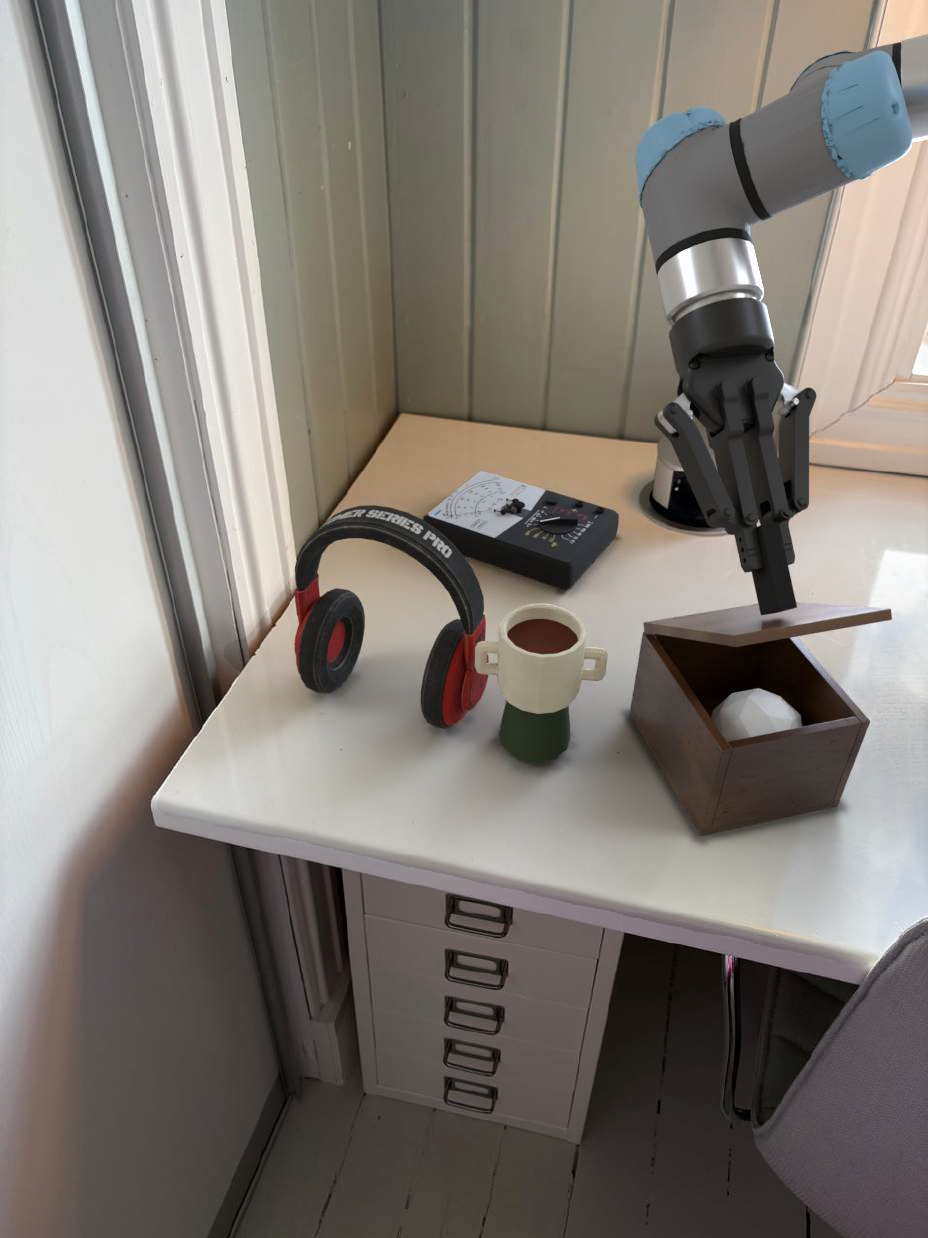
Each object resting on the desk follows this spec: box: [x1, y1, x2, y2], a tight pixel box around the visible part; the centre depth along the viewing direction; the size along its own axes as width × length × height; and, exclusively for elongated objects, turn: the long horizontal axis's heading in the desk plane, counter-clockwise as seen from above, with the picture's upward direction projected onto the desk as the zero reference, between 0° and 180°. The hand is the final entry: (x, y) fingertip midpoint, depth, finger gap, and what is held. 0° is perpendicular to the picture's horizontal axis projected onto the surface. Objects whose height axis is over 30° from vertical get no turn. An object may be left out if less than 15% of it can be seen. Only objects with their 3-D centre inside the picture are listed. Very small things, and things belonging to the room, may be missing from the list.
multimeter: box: [422, 470, 620, 590], centre depth 107 cm, size 13×19×5 cm
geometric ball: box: [711, 688, 802, 742], centre depth 77 cm, size 8×8×8 cm
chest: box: [629, 631, 871, 836], centre depth 79 cm, size 15×13×10 cm
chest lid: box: [642, 601, 893, 647], centre depth 73 cm, size 16×13×1 cm
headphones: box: [293, 504, 490, 730], centre depth 81 cm, size 18×10×20 cm, turn 68°
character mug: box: [475, 602, 609, 765], centre depth 79 cm, size 11×7×13 cm, turn 86°
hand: (778, 611), depth 70 cm, fingers closed
